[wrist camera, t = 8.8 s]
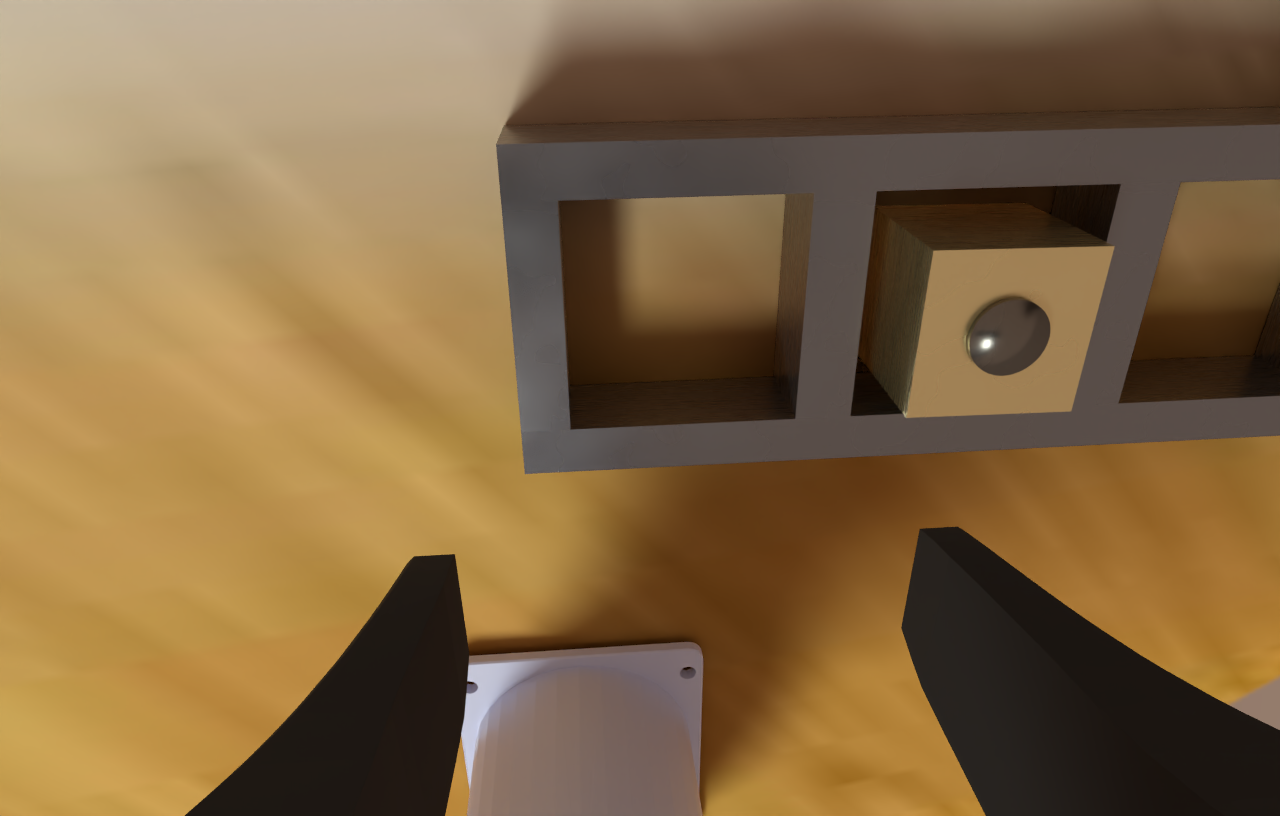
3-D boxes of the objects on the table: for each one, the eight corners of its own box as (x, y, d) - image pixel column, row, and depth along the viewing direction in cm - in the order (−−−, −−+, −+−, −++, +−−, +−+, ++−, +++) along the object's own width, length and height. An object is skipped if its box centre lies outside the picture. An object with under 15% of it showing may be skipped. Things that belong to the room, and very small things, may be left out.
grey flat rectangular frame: (1280, 391, 25) (1350, 431, 22) (528, 426, 23) (524, 473, 21) (1388, 104, 21) (1485, 119, 19) (503, 125, 20) (496, 144, 17)
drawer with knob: (994, 345, 23) (1075, 415, 20) (854, 350, 23) (909, 421, 19) (1024, 202, 21) (1120, 248, 18) (872, 205, 21) (937, 253, 17)
